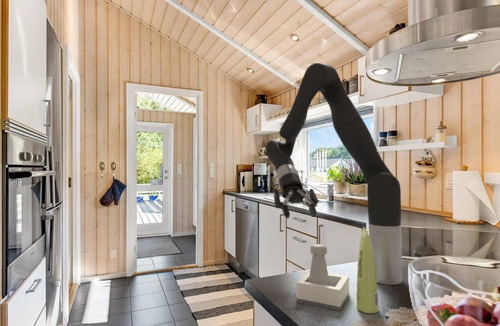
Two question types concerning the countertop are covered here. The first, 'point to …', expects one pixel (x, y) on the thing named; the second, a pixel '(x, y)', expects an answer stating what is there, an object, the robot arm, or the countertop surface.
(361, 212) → the countertop surface
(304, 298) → the socket dock
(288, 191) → the robot arm
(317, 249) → the salt shaker
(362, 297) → the tube
